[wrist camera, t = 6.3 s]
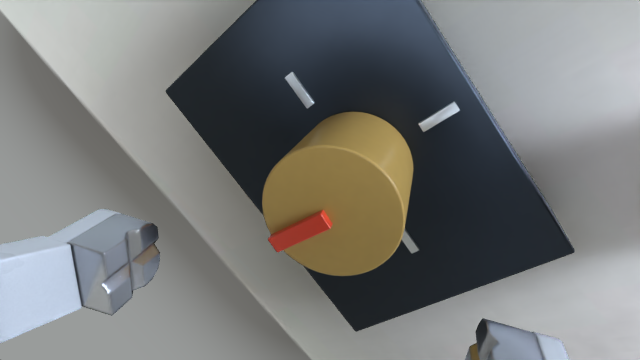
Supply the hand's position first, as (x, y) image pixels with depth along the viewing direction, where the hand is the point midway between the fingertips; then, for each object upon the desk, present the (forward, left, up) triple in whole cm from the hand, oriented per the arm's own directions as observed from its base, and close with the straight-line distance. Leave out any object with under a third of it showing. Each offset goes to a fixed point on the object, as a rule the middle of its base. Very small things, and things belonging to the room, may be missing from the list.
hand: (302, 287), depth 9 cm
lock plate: (0, 0, -10) cm, 10 cm away
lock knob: (0, 0, -7) cm, 7 cm away
